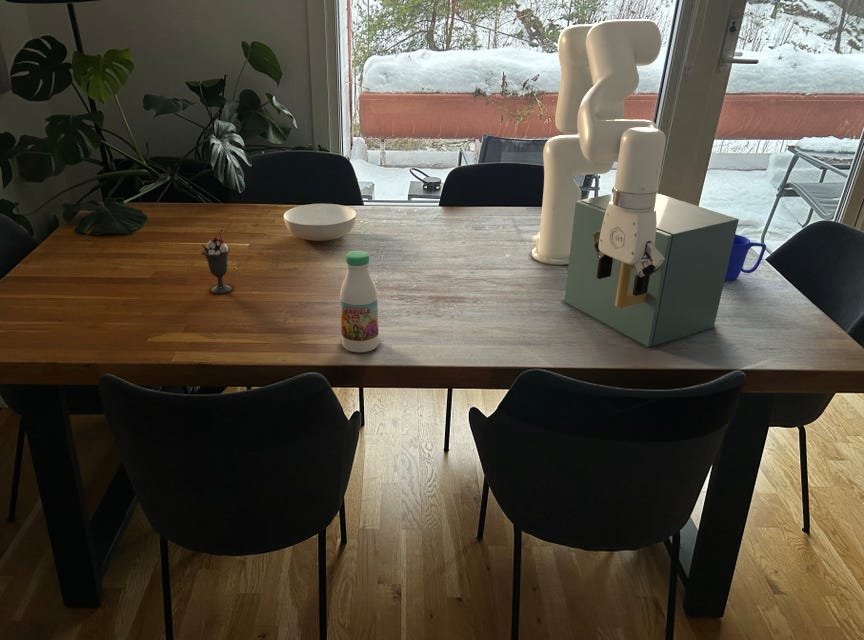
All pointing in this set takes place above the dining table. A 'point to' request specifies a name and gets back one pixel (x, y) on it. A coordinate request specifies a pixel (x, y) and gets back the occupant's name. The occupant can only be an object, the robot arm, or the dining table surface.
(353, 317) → the milk bottle
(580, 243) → the cabinet door
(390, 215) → the dining table surface
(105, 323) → the dining table surface
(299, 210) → the serving bowl
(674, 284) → the cabinet
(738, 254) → the mug
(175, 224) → the dining table surface
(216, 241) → the sundae
